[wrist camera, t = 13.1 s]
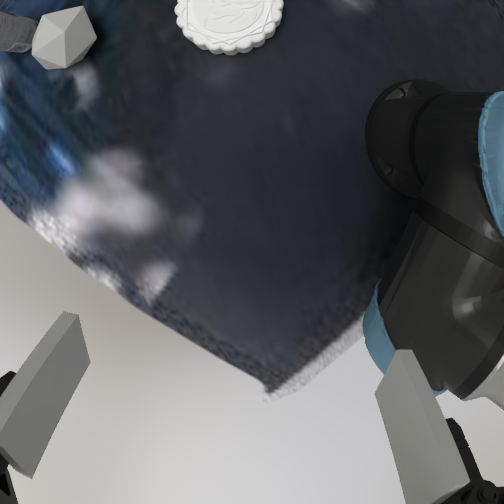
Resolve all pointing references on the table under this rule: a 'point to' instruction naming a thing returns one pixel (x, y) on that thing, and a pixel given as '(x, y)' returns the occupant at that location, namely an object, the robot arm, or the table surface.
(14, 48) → the energy drink
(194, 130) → the table surface
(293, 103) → the table surface
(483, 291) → the robot arm
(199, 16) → the mooncake
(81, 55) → the die
